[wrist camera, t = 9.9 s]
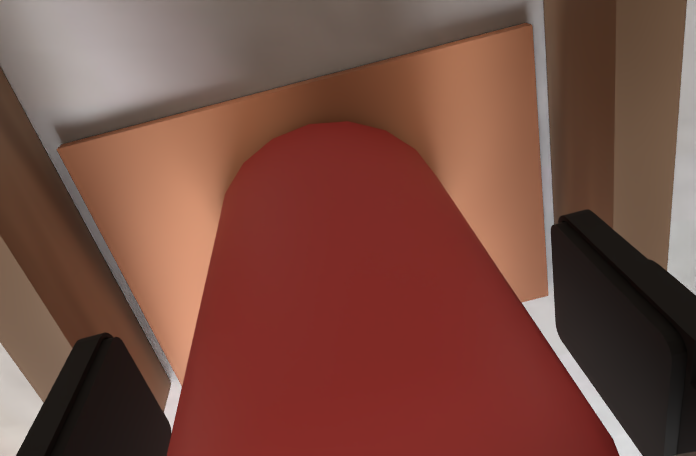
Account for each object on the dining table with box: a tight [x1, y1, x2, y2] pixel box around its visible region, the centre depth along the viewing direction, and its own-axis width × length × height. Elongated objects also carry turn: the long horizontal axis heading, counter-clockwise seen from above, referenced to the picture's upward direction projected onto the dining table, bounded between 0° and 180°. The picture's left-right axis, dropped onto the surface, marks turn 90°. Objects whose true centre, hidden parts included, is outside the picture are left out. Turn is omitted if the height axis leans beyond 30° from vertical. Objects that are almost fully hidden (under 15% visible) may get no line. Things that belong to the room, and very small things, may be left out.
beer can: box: [167, 121, 619, 456], centre depth 11 cm, size 7×7×12 cm
